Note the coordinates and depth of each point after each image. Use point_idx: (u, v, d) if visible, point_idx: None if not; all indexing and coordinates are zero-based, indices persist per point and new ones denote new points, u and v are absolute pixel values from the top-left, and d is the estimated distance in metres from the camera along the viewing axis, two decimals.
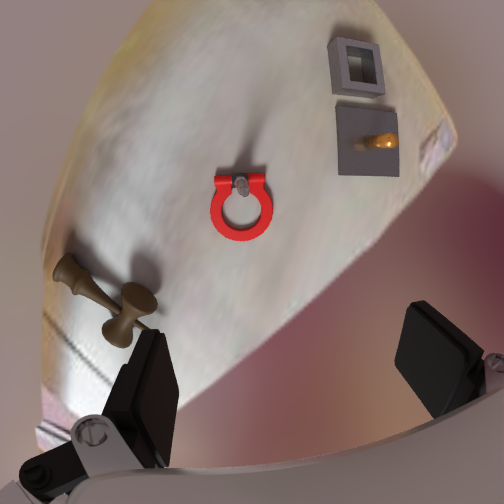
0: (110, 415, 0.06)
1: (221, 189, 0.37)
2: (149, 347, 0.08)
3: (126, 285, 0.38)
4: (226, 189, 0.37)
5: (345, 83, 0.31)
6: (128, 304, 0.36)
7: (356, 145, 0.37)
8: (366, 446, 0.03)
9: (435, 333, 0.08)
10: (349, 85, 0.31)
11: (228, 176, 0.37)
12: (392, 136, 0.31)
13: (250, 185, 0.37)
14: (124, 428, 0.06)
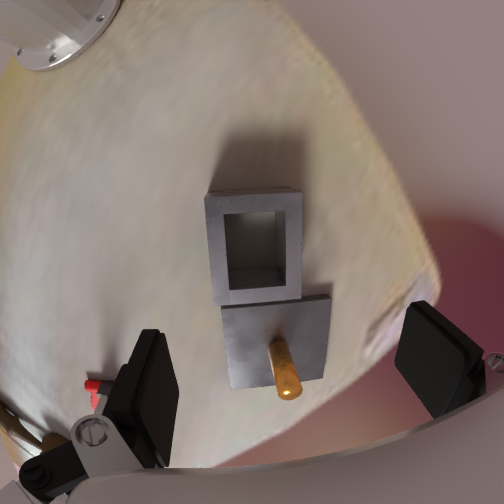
0: (110, 415, 0.06)
1: (95, 394, 0.27)
2: (149, 347, 0.08)
3: (45, 439, 0.28)
4: None
5: (219, 297, 0.21)
6: None
7: (253, 357, 0.27)
8: (366, 446, 0.03)
9: (435, 333, 0.08)
10: (227, 299, 0.21)
11: (97, 386, 0.27)
12: (290, 388, 0.21)
13: None
14: (124, 428, 0.06)
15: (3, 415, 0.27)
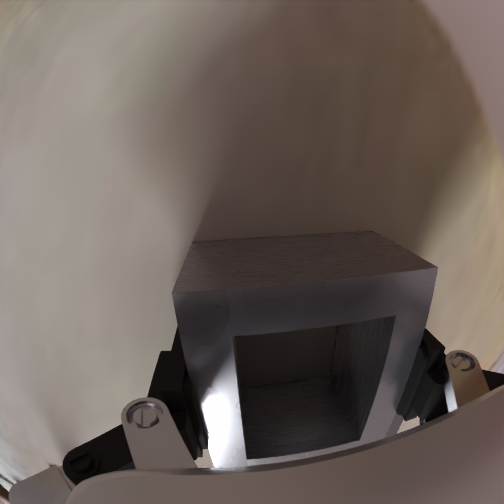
0: (156, 399, 0.07)
1: None
2: None
3: None
4: None
5: None
6: None
7: None
8: (366, 446, 0.03)
9: None
10: None
11: None
12: None
13: None
14: (173, 409, 0.06)
15: None
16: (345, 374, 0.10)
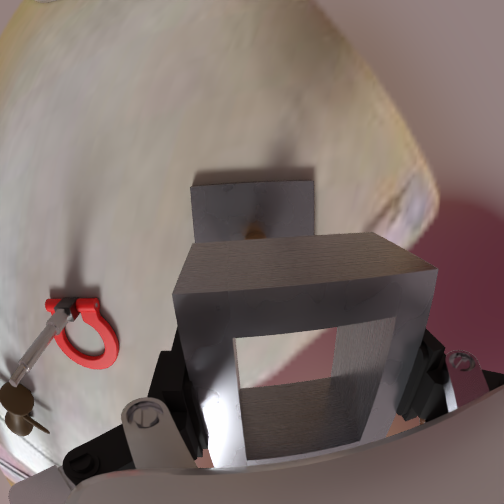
0: (156, 399, 0.07)
1: None
2: None
3: (4, 387, 0.25)
4: None
5: None
6: (4, 407, 0.23)
7: None
8: (366, 446, 0.03)
9: None
10: None
11: (57, 302, 0.24)
12: None
13: (82, 314, 0.25)
14: (173, 409, 0.06)
15: None
16: (345, 375, 0.10)
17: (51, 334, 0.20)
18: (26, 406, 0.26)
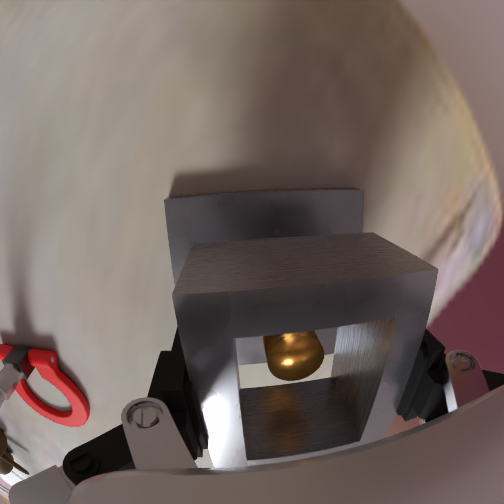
0: (156, 399, 0.07)
1: None
2: None
3: None
4: None
5: None
6: None
7: None
8: (366, 446, 0.03)
9: None
10: None
11: (8, 351, 0.15)
12: (297, 348, 0.09)
13: (38, 369, 0.16)
14: (173, 409, 0.06)
15: None
16: (345, 375, 0.10)
17: None
18: None
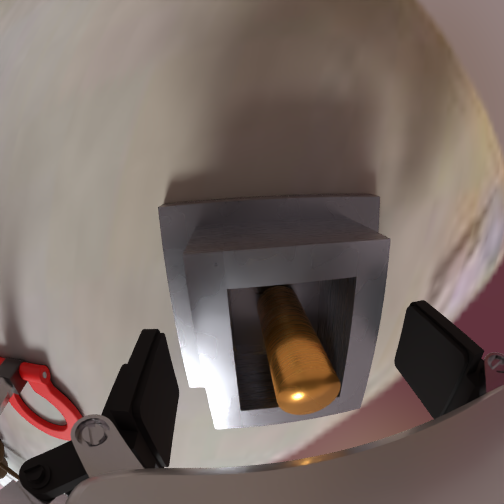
0: (110, 415, 0.06)
1: None
2: (149, 347, 0.08)
3: None
4: None
5: (223, 419, 0.10)
6: None
7: None
8: (366, 446, 0.03)
9: (435, 333, 0.08)
10: (237, 421, 0.11)
11: (0, 364, 0.14)
12: (311, 383, 0.08)
13: (30, 383, 0.14)
14: (124, 428, 0.06)
15: None
16: (326, 339, 0.13)
17: None
18: None
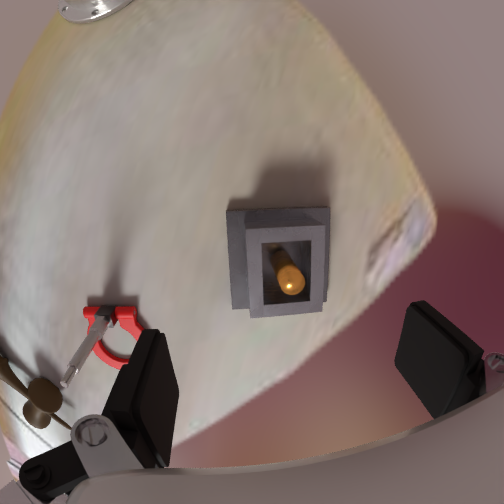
0: (110, 415, 0.06)
1: (93, 322, 0.29)
2: (149, 347, 0.08)
3: (33, 383, 0.29)
4: None
5: (255, 310, 0.25)
6: (33, 404, 0.27)
7: None
8: (366, 446, 0.03)
9: (435, 333, 0.08)
10: (261, 312, 0.25)
11: (96, 310, 0.28)
12: (293, 277, 0.22)
13: (120, 320, 0.29)
14: (124, 428, 0.06)
15: None
16: None
17: (95, 339, 0.24)
18: (55, 404, 0.30)
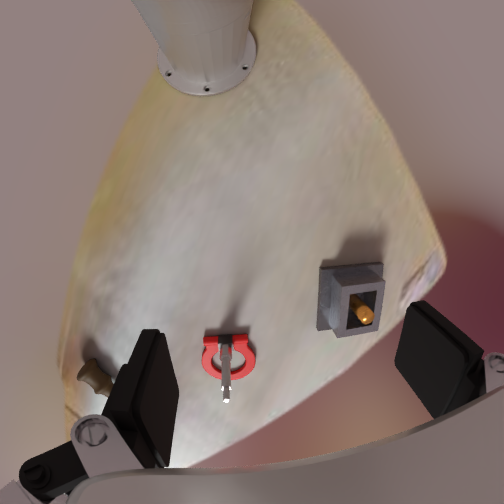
0: (110, 415, 0.06)
1: (210, 348, 0.41)
2: (149, 347, 0.08)
3: None
4: (214, 348, 0.41)
5: (340, 333, 0.38)
6: None
7: None
8: (366, 446, 0.03)
9: (435, 333, 0.08)
10: (344, 334, 0.38)
11: (215, 339, 0.41)
12: (368, 314, 0.35)
13: (235, 345, 0.41)
14: (124, 428, 0.06)
15: (98, 373, 0.40)
16: None
17: None
18: None
